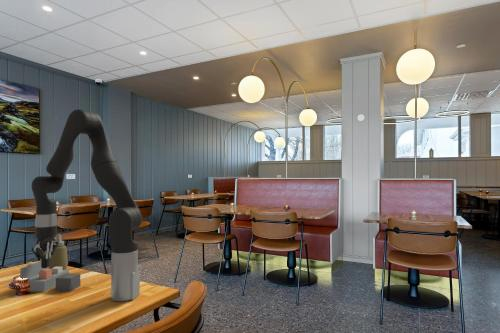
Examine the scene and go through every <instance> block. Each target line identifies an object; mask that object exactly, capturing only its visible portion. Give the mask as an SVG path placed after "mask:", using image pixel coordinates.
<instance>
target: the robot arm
mask: <svg viewBox="0 0 500 333" xmlns="http://www.w3.org/2000/svg"><path fill="white" fill-rule="evenodd" d="M80 134H84V135H87V137H88V139H89V140H90V142H91V145H92V154H91V160H90V166H91V170H92V172H93V175H94V178H95V179H96V181H97V183H98V184H99V186H100V187H101V189H103V190H104V191H105V193H107V194H108V195H109V196H110V197H111V198H112V200H113V201H114V203H115V206H116V207H117V208H116V209H114V210H112V212H111V213H110V215H109V217H108V218H109V219H108V243H109V245H110V247H111V255H110V256H111V257H110V259H111V263H110V264H111V271H110V274H111V276H110V300H111V301H113V302H127V301H134V300H135V299H136V297H138V296H139V295H140V293H141V288H140V287H141V286H140V285H141V284H140V282H141V279H140V278H141V276H140V275H141V269H139V262H138V261H139V259H138V258H139V242H137V240H134V239H133V235H132V234H133V233H132V232H133V231H136V230H138V229H140V227H141V225H142V222H143V216H142V213H141V210H140V208H139V207H138V205H137V203H136V201H135V199H134V198H133V196H132V194H131V192H130V190H129V187H128V185H127V183H126V180H125V179H124V178H125V177H124V176H123V174H122V171H121V169H120V166H119V163H118V161H117V160H116V157H115V155H114V153H113V150H112V147H111V145H110V141H109V139H108V136H107V133H106V129H105V126H104V123H103V121H102V118H101V117H100V115H99V114H98V113H96V112H94V111H91V110H90V111H89V110H86V109H85V110H84V109H81V108H79V109H78V108H77V109H74V110H72V111H71V112H70V113H69V115H68V117H67V119H66V122H65V125H64V127H63V130H62V133H61V136H60V139H59V142H58V145H57V146H56V148H55V151H54V153H53V155H51V156H52V157H51V158H50V160H49V162H48V163H47V166H45V170H46V172H47V174H49V175H50V176H49V175H46V176H45V175H39V176H35V177H34V178H33V180H32V182H31V190H32V191H31V192H32V194H33V197H34V202H35V206H36V210H35V220H34V222H35V223H34V237H35V238H36V239H37V240H36V245H35V246H34V247H32V248H31V251H32V252H33V254H34V255H35V257H36V258H37V259H41V267H42V268H47V267H49V260H50V257H51V255H53V254H54V252H55V250H56V248H57V246H58V244H59V242H56V238H55V237H57V234H58V214H57V210H58V208H57V207H58V206H57V204H58V202H57V200H56V199H53V198H49V197H48V194H55V193H57V192H59V191H60V190H61V189H62V188H63V184H64V180H65V176H66V172H67V171H68V169H69V168H70V166H71V164H72V162H73V161H74V144H75V141H76V139H77V138H78V137H79V136H80Z"/></svg>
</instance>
